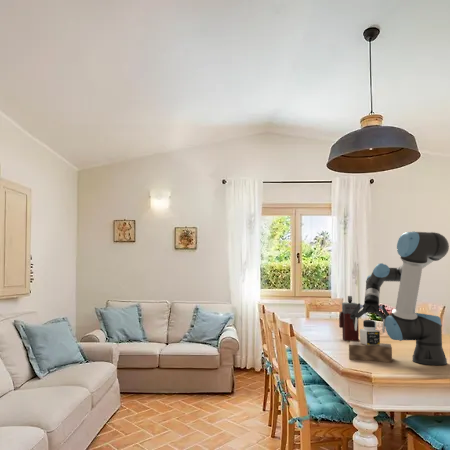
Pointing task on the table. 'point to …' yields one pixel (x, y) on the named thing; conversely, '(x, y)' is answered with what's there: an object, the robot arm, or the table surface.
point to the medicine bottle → (369, 333)
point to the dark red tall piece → (348, 321)
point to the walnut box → (370, 352)
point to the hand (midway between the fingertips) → (369, 330)
